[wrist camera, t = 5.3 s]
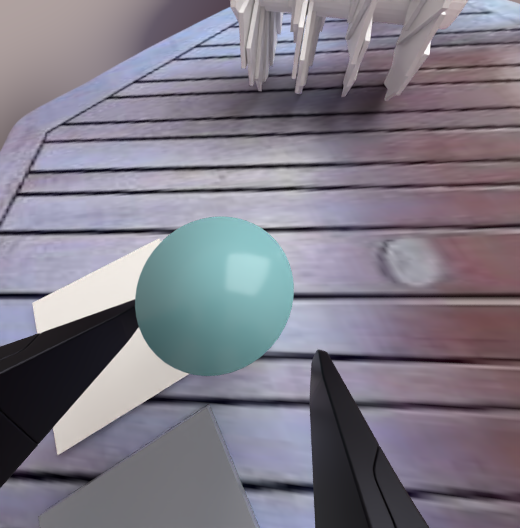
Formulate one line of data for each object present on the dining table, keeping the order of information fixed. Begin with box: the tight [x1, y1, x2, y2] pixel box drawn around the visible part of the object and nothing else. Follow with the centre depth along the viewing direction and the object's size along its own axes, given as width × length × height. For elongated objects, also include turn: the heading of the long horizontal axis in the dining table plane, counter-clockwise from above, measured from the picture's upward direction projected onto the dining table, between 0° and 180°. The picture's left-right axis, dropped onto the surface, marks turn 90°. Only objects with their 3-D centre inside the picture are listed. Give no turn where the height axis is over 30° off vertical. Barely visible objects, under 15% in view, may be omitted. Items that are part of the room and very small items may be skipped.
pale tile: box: [32, 239, 189, 455], centre depth 18 cm, size 14×14×1 cm
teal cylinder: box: [135, 217, 294, 376], centre depth 12 cm, size 5×5×13 cm
